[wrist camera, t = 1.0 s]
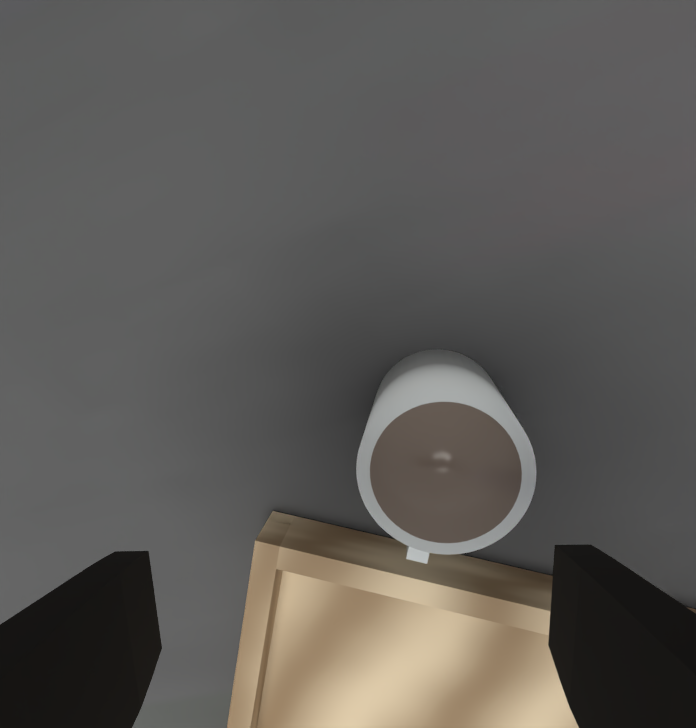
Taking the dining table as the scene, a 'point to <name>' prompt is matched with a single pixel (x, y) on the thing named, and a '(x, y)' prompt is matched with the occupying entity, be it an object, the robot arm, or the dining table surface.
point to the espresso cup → (444, 457)
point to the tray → (390, 637)
